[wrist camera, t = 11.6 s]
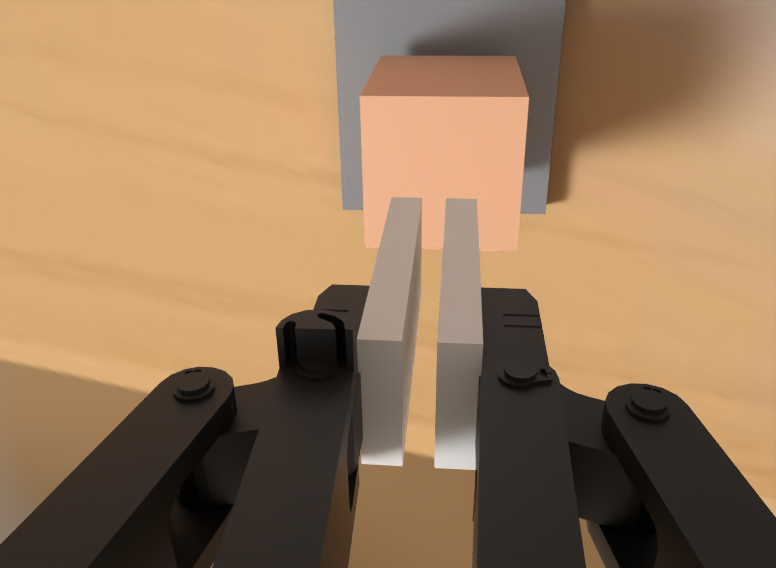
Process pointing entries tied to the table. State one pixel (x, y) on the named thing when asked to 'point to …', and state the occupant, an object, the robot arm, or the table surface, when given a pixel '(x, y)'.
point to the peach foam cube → (445, 143)
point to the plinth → (451, 38)
